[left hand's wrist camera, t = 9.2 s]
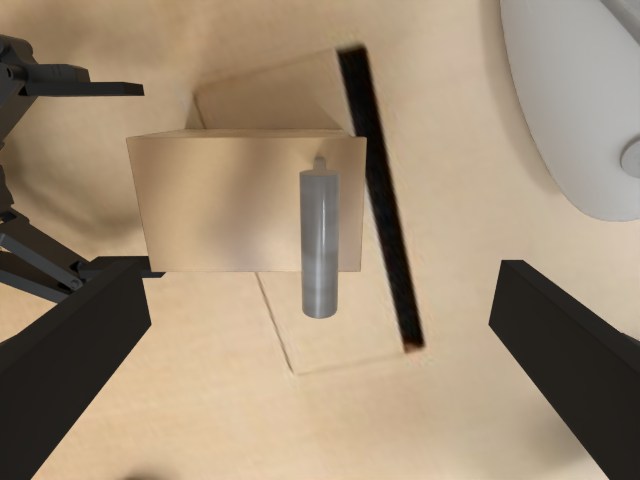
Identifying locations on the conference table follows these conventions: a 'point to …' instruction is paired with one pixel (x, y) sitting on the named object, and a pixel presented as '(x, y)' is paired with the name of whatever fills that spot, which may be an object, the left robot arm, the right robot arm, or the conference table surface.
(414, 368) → the conference table surface
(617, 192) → the projector
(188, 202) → the lid
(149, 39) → the conference table surface
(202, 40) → the conference table surface
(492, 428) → the conference table surface
